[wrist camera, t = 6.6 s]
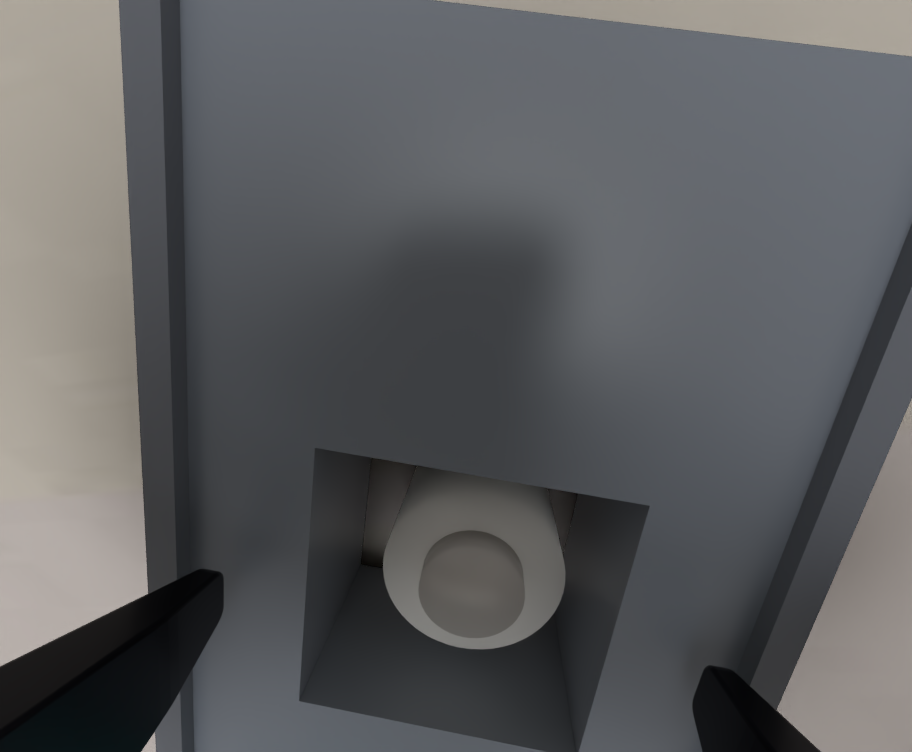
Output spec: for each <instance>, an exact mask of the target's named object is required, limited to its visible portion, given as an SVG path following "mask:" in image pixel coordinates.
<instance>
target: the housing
mask: <svg viewBox="0 0 912 752" xmlns="http://www.w3.org/2000/svg"><path fill="white" fill-rule="evenodd" d="M119 12H120V32H121V52H122V73H123V93H124V113H125V133H126V153H127V173H128V194H129V214H130V234H131V254H132V274H133V294H134V315H135V335H136V355H137V375H138V395H139V415H140V436H141V456H142V476H143V496H144V516H145V536H146V557H147V577H148V594H149V593H151V592H153V591H155V590H157V589H159V588H161V587H163V586H165V585H167V584H169V583H171V582H173V581H175V580H177V579H179V578H181V577H183V576H185V575H188V574H190V573H192V572H194V571H196V570H198V569H210V570H215V571H220V572H221V573H222V574H223V576H224V609H223V613H222V616H221V619H220V621H219V623H218V625H217V626H216V628H215V630H214V632H213V634H212V635H211V637H210V639H209V641H208V642H207V644H206V646H205V648H204V650H203V651H202V653H201V655H200V657H199V659H198V660H197V662H196V664H195V666H194V668H193V669H192V671H191V673H190V675H189V676H188V678H187V680H186V682H185V684H184V685H183V687H182V689H181V691H180V693H179V694H178V696H177V698H176V699H175V701H174V703H173V704H172V706H171V708H170V709H169V711H168V712H167V714H166V715H165V717H164V718H163V720H162V721H161V723H160V724H159V726H158V727H157V729H156V730H155V738H156V752H702V748H701V744H700V740H699V736H698V732H697V728H696V724H695V720H694V716H693V710H692V702H693V697H694V694H695V691H696V689H697V686H698V683H699V680H700V678H701V675H702V672H703V670H704V668H705V667H706V666H708V665H713V666H719V667H724V668H728V669H731V670H733V671H734V672H735V673H737V674H738V675H739V676H740V677H741V678H742V679H743V680H744V681H745V682H746V683H747V684H748V685H750V686H751V687H752V688H753V689H754V690H755V691H756V692H757V693H758V694H759V695H760V696H761V697H762V698H764V699H765V700H766V701H767V702H768V703H769V704H770V705H771V706H772V707H773V708H774V709H775V710H777V707H778V705H779V703H780V701H781V698H782V696H783V694H784V691H785V689H786V687H787V684H788V682H789V680H790V677H791V675H792V673H793V671H794V668H795V666H796V664H797V661H798V659H799V657H800V654H801V652H802V650H803V648H804V645H805V643H806V641H807V638H808V636H809V634H810V631H811V629H812V627H813V624H814V622H815V620H816V618H817V615H818V613H819V611H820V608H821V606H822V604H823V601H824V599H825V597H826V595H827V592H828V590H829V588H830V585H831V583H832V581H833V578H834V576H835V574H836V571H837V569H838V567H839V565H840V562H841V560H842V558H843V555H844V553H845V551H846V548H847V546H848V544H849V541H850V539H851V537H852V535H853V532H854V530H855V528H856V525H857V523H858V521H859V518H860V516H861V514H862V512H863V509H864V507H865V505H866V502H867V500H868V498H869V495H870V493H871V491H872V488H873V486H874V484H875V482H876V479H877V477H878V475H879V472H880V470H881V468H882V465H883V463H884V461H885V459H886V456H887V454H888V452H889V449H890V447H891V445H892V442H893V440H894V438H895V435H896V433H897V431H898V429H899V426H900V424H901V422H902V419H903V417H904V415H905V412H906V410H907V408H908V406H909V403H910V401H911V399H912V57H911V56H902V55H894V54H885V53H876V52H868V51H859V50H851V49H842V48H834V47H825V46H817V45H808V44H800V43H791V42H783V41H774V40H766V39H757V38H749V37H740V36H732V35H723V34H715V33H706V32H698V31H689V30H681V29H672V28H664V27H655V26H647V25H638V24H630V23H621V22H613V21H604V20H596V19H587V18H579V17H570V16H562V15H553V14H545V13H536V12H528V11H519V10H511V9H502V8H494V7H485V6H477V5H468V4H460V3H451V2H443V1H434V0H119ZM371 458H377V459H383V460H388V461H394V462H400V463H406V464H411V465H417V466H423V467H429V468H435V469H440V470H446V471H452V472H458V473H463V474H469V475H475V476H481V477H487V478H492V479H498V480H504V481H510V482H515V483H521V484H527V485H533V486H539V487H544V488H550V489H556V490H562V491H567V492H573V493H578V496H577V500H576V504H575V508H574V513H573V517H572V521H571V525H570V529H569V533H568V538H567V542H566V546H565V550H564V554H563V558H564V564H565V586H564V592H563V595H562V598H561V601H560V603H559V605H558V607H557V609H556V611H555V612H554V613H553V615H552V616H551V618H550V619H549V620H548V621H547V622H546V623H545V624H544V625H543V626H542V627H541V628H540V629H539V630H537V631H536V632H535V633H533V634H532V635H530V636H528V637H527V638H525V639H523V640H521V641H519V642H516V643H514V644H511V645H507V646H504V647H499V648H493V649H466V648H460V647H455V646H451V645H447V644H445V643H442V642H439V641H437V640H435V639H433V638H431V637H429V636H427V635H425V634H424V633H422V632H421V631H419V630H418V629H416V628H415V627H414V626H413V625H411V624H410V623H409V622H408V621H407V620H406V619H405V618H404V617H403V616H402V615H401V613H400V612H399V611H398V609H397V608H396V607H395V605H394V603H393V601H392V600H391V598H390V596H389V593H388V591H387V588H386V585H385V580H384V574H383V568H377V567H372V566H367V565H361V556H362V546H363V536H364V526H365V516H366V506H367V496H368V486H369V476H370V466H371Z"/></svg>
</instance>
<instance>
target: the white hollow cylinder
mask: <svg viewBox="0 0 912 752" xmlns="http://www.w3.org/2000/svg"><path fill="white" fill-rule="evenodd" d="M383 574H384V580H385V585H386V588H387V591H388V593H389V596H390V598H391V600H392V601H393V603H394V605H395V607H396V608H397V609H398V611H399V612H400V613H401V615H402V616H403V617H404V618H405V619H406V620H407V621H408V622H409V623H410V624H411V625H413V626H414V627H415V628H416V629H418V630H419V631H421V632H422V633H424V634H425V635H427V636H429V637H431V638H433V639H435V640H437V641H439V642H442V643H445V644H447V645H451V646H455V647H460V648H466V649H493V648H499V647H504V646H507V645H511V644H514V643H516V642H519V641H521V640H523V639H525V638H527V637H528V636H530V635H532V634H533V633H535V632H536V631H537V630H539V629H540V628H541V627H542V626H543V625H544V624H545V623H546V622H547V621H548V620H549V619H550V618H551V616H552V615H553V613H554V612H555V611H556V609H557V607H558V605H559V603H560V601H561V598H562V595H563V592H564V586H565V564H564V558H563V554H562V549H561V545H560V540H559V536H558V532H557V527H556V523H555V518H554V514H553V509H552V505H551V500H550V496H549V491H548V488H544V487H539V486H533V485H527V484H521V483H515V482H510V481H504V480H498V479H492V478H487V477H481V476H475V475H469V474H463V473H458V472H452V471H446V470H440V469H435V468H429V467H423V466H417V467H416V469H415V472H414V475H413V477H412V480H411V482H410V485H409V488H408V490H407V493H406V495H405V498H404V501H403V503H402V506H401V508H400V511H399V514H398V516H397V519H396V521H395V524H394V527H393V529H392V532H391V534H390V537H389V540H388V542H387V545H386V548H385V552H384V557H383Z"/></svg>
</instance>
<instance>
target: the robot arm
mask: <svg viewBox="0 0 912 752" xmlns="http://www.w3.org/2000/svg"><path fill="white" fill-rule="evenodd" d="M223 609H224V576H223V574H222V573H221V572H220V571H215V570H210V569H198V570H196V571H194V572H192V573H190V574H188V575H185V576H183V577H181V578H179V579H177V580H175V581H173V582H171V583H169V584H167V585H165V586H163V587H161V588H159V589H157V590H155V591H153V592H151V593H149V594H147V595H145V596H143V597H141V598H139V599H137V600H135V601H133V602H131V603H128V604H126V605H124V606H122V607H120V608H118V609H116V610H114V611H112V612H110V613H108V614H106V615H104V616H102V617H100V618H98V619H96V620H94V621H92V622H90V623H88V624H86V625H84V626H82V627H80V628H78V629H76V630H74V631H71V632H69V633H67V634H65V635H63V636H61V637H59V638H57V639H55V640H53V641H51V642H49V643H47V644H45V645H43V646H41V647H39V648H37V649H35V650H33V651H31V652H29V653H27V654H25V655H23V656H21V657H19V658H17V659H15V660H12V661H10V662H8V663H6V664H4V665H2V666H0V752H141V751H142V749H143V748H144V746H145V745H146V744H147V742H148V741H149V739H150V738H151V736H152V735H153V733H154V732H155V730H156V729H157V727H158V726H159V724H160V723H161V721H162V720H163V718H164V717H165V715H166V714H167V712H168V711H169V709H170V708H171V706H172V704H173V703H174V701H175V699H176V698H177V696H178V694H179V693H180V691H181V689H182V687H183V685H184V684H185V682H186V680H187V678H188V676H189V675H190V673H191V671H192V669H193V668H194V666H195V664H196V662H197V660H198V659H199V657H200V655H201V653H202V651H203V650H204V648H205V646H206V644H207V642H208V641H209V639H210V637H211V635H212V634H213V632H214V630H215V628H216V626H217V625H218V623H219V621H220V619H221V616H222V613H223ZM692 710H693V716H694V720H695V724H696V728H697V732H698V736H699V740H700V744H701V748H702V752H821V751H820V750H819V749H817V748H816V747H815V746H814V745H813V744H812V743H811V742H810V741H809V740H808V739H807V738H806V737H804V736H803V735H802V734H801V733H800V732H799V731H798V730H797V729H796V728H795V727H794V726H793V725H792V724H790V723H789V722H788V721H787V720H786V719H785V718H784V717H783V716H782V715H781V714H780V713H779V712H778V711H776V710H775V709H774V708H773V707H772V706H771V705H770V704H769V703H768V702H767V701H766V700H765V699H764V698H762V697H761V696H760V695H759V694H758V693H757V692H756V691H755V690H754V689H753V688H752V687H751V686H750V685H748V684H747V683H746V682H745V681H744V680H743V679H742V678H741V677H740V676H739V675H738V674H737V673H735V672H734V671H733V670H731V669H728V668H724V667H719V666H713V665H708V666H706V667H705V668H704V670H703V672H702V675H701V678H700V680H699V683H698V686H697V689H696V691H695V694H694V697H693V702H692Z"/></svg>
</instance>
